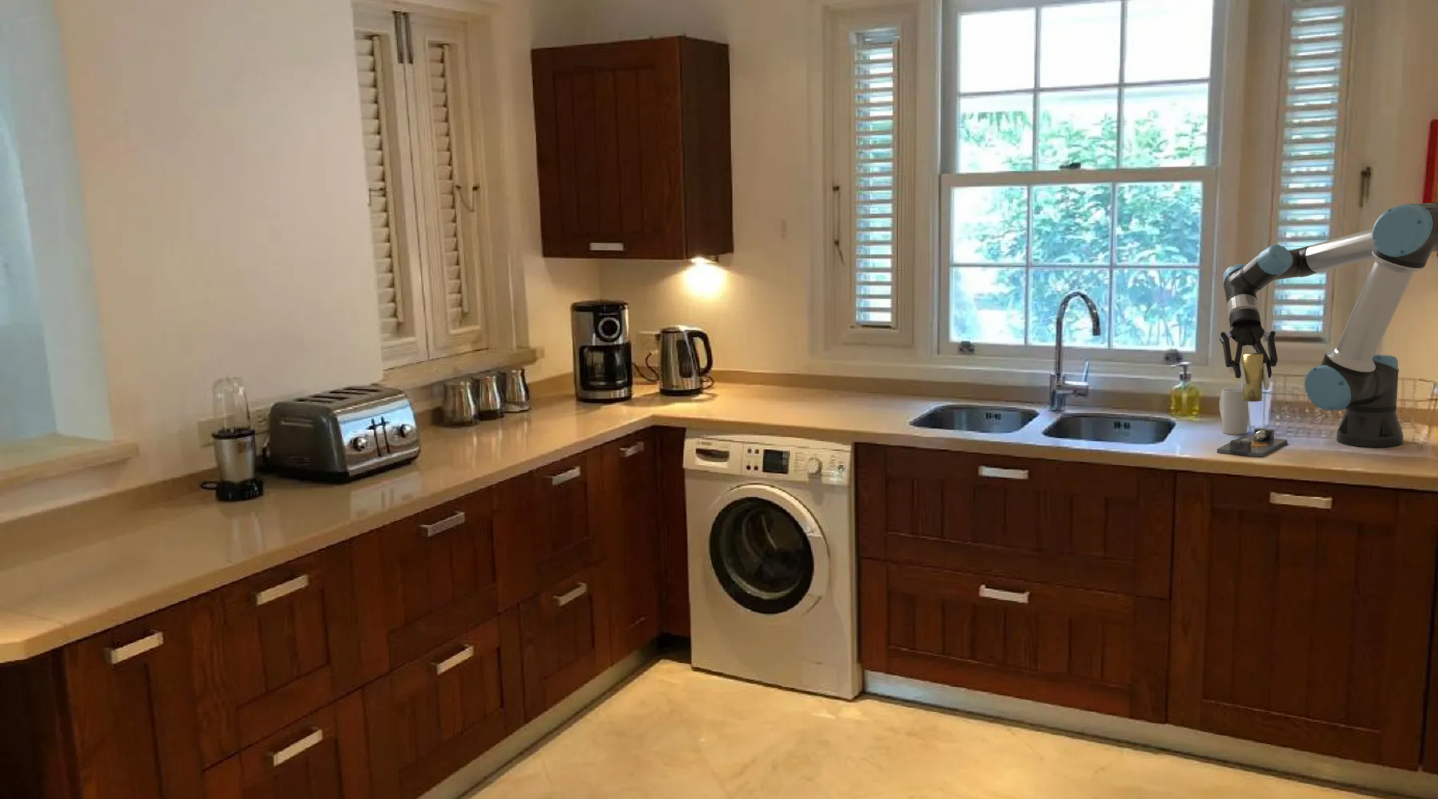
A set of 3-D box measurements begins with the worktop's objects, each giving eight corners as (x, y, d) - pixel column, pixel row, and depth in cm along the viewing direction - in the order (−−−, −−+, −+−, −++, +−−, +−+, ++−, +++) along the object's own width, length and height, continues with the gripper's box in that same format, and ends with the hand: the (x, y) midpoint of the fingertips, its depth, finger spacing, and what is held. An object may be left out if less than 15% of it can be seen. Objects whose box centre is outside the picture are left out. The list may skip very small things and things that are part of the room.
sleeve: (1264, 399, 299) (1266, 353, 297) (1258, 402, 296) (1259, 355, 294) (1245, 397, 303) (1246, 352, 300) (1239, 400, 299) (1240, 354, 297)
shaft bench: (1243, 439, 311) (1244, 426, 311) (1287, 443, 304) (1287, 430, 303) (1216, 452, 298) (1217, 439, 297) (1261, 457, 290) (1261, 444, 290)
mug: (1253, 433, 318) (1254, 390, 316) (1231, 435, 316) (1231, 392, 314) (1230, 427, 327) (1231, 385, 325) (1209, 429, 326) (1209, 387, 324)
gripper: (1277, 323, 309) (1290, 395, 296) (1206, 325, 313) (1215, 395, 300) (1282, 305, 303) (1296, 377, 290) (1210, 307, 307) (1220, 379, 294)
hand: (1255, 386), depth 295 cm, fingers closed on sleeve, 5 cm apart
